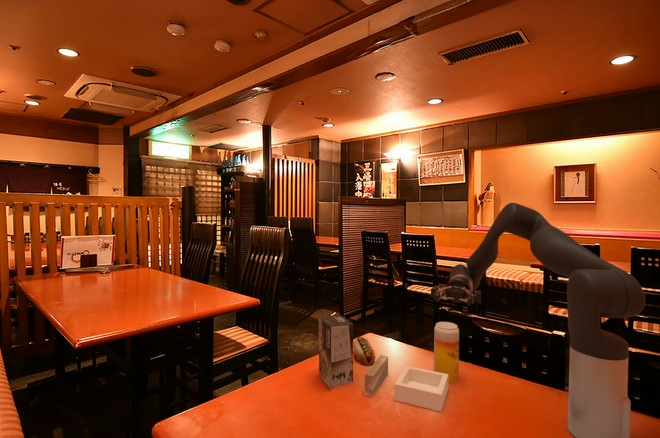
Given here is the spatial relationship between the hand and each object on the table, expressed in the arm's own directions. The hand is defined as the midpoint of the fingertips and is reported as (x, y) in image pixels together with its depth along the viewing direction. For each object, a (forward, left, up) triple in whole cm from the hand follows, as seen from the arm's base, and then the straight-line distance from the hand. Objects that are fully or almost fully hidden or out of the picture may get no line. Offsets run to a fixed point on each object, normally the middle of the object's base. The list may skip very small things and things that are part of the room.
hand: (452, 300), depth 102 cm
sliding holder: (+4, +22, -18) cm, 29 cm away
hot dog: (+24, +8, -19) cm, 32 cm away
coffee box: (+26, +23, -19) cm, 40 cm away
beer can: (0, +11, -19) cm, 22 cm away
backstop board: (+6, +22, -19) cm, 30 cm away
